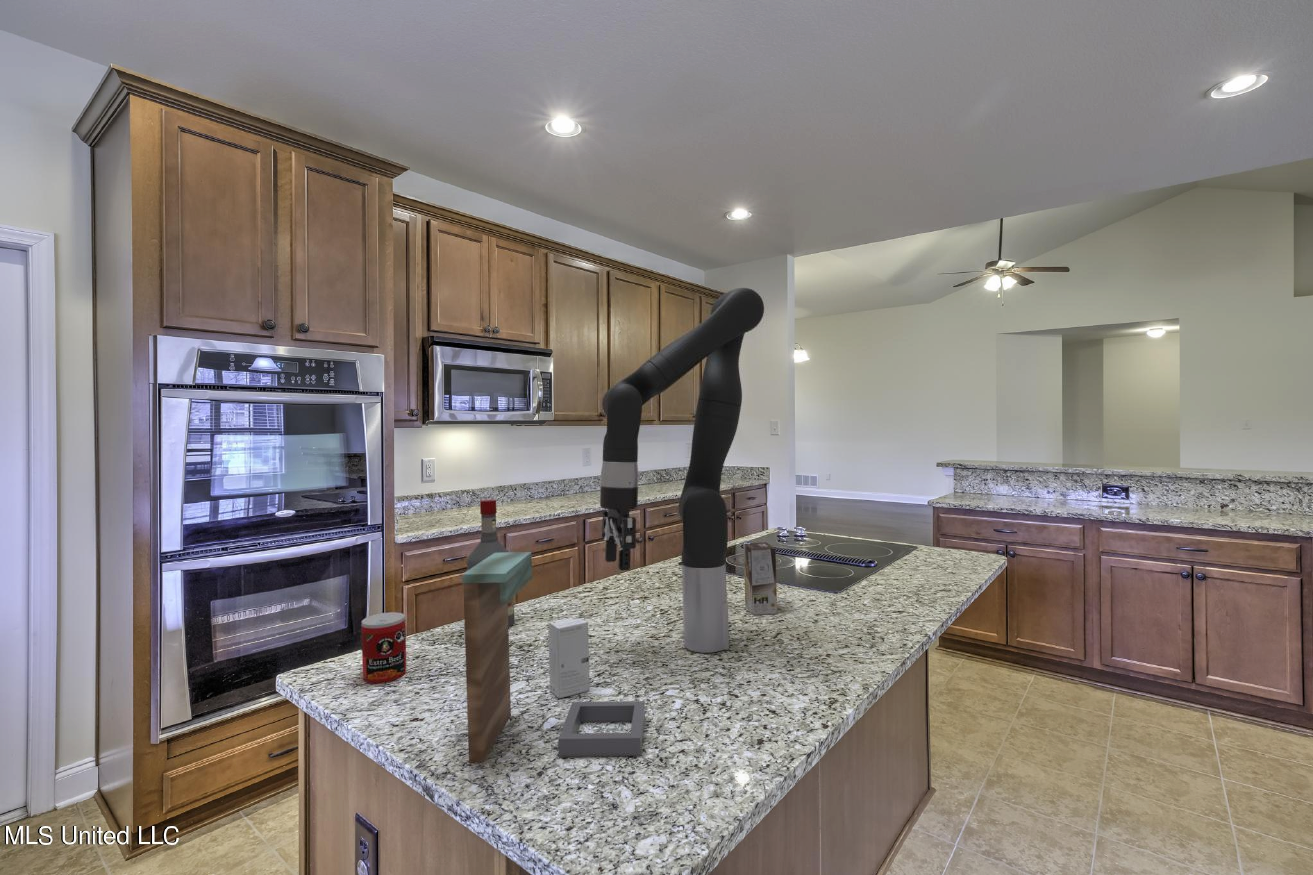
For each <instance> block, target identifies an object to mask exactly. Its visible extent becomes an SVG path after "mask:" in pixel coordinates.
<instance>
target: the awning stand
mask: <svg viewBox="0 0 1313 875" xmlns="http://www.w3.org/2000/svg"><path fill="white" fill-rule="evenodd" d="M532 579H533V556H532V551H512V552H510V551H508V552H505V553H494V554H492V555H491V556H489V557H488V558H486V559H485V560H483V561H482V562H480V563H479V564H477V565H475V566H474V567H472V568H471V569H469V570H468V571H467V570H466V571H465V572H464V573H462V574H461V584H462V586H463V611H464V612H463V613H464V614H463V615H464V617H463V618H464V644H465V645H464V646H465V671H466V672H465V677H466V678H465V680H466V708H467V709H466V710H467V711H466V713H467V739H468V740H467V742H468V743H467V745H468V763H469V764H470V763H471V764H472V763H473V764H476V763H477V764H478V763H479V764H480V763H484V762H485V760H486V759H487V757H488V755H489V753H491V752H490V751H491V750H492V748H493V747H494V745H495V743H496V741H497V740H498V738H499V736H500V735H501V732H502V731H503V730H504V729H505V726H506V724H507V722H508V721H509V719H510V717H511V716H512V707H511V706H512V705H511V703H512V702H511V701H512V700H511V670H510V669H511V668H510V667H511V666H510V636H509V635H510V634H509V633H510V632H509V628H508V602H509V601H510V600H511V599H512V598H513V597H514V598H515V596H516V595H517V594H518V593H519V592H520V591H521V590H522V589H523V588H524V587H525V586H526V585H527V584H528V583H529V581H531V580H532Z"/></svg>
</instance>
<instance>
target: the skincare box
mask: <svg viewBox="0 0 1313 875" xmlns="http://www.w3.org/2000/svg"><path fill="white" fill-rule="evenodd" d="M547 625H548V666H549V667H548V669H549V670H548V671H549V672H548V673H549V691H550V692H551V694H553V695H554V696H555V697H556V698H558V699H562V698H566V697H570V696H574V695H577V694H581V693H585V692H589V690H590V654H589V653H590V650H589V647H590V646H589V645H590V644H589V622H588V621H587V620H585V619H583V618H581V617H578V616H575V617H571V618H564V619H559V620H555V621H554V620H553V621H549V622H548V624H547Z"/></svg>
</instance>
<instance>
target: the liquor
mask: <svg viewBox="0 0 1313 875" xmlns="http://www.w3.org/2000/svg"><path fill="white" fill-rule="evenodd" d="M479 503H480V507H479V508H480V512H479V513H480V515H481V517H480V518H481V519H480V521H481V522H480V523H481V536H480V542H478V544H477V546H475V548H474V549H473V550H472V551H471V553H470V554H469V555H468V558H467V561H466V571H468V570H469V569H471V568H472V567H474V566H475V565H477V564H479V563H480V562H482V561H483V560H485V559H486V558H488V557H489V556H491V555H492V554H494V553H505V552H509V550H508V549H507V548H506V547H505V546H503V544H502V543H501V542H500V541H499V537H498V534H497V533H498V532H497V513H498V512H497V511H498V510H497V500H496V499H484V500H480V501H479ZM515 619H516V618H515V596H514V597H513V598H512V599H511V600H510V601H509V602H508V627H509V628H510V626H511V627H513V625H514V623H515V621H516V620H515Z"/></svg>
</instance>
